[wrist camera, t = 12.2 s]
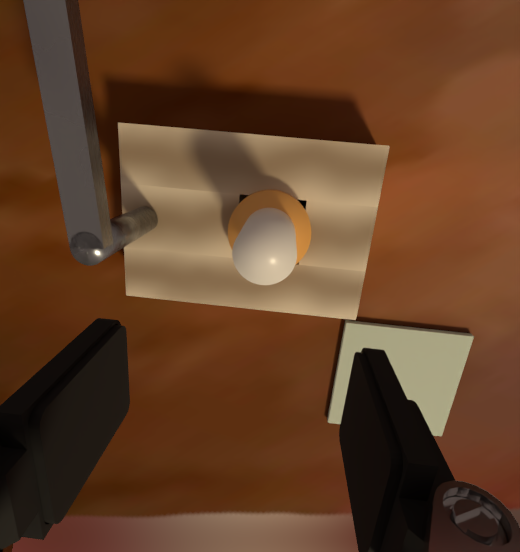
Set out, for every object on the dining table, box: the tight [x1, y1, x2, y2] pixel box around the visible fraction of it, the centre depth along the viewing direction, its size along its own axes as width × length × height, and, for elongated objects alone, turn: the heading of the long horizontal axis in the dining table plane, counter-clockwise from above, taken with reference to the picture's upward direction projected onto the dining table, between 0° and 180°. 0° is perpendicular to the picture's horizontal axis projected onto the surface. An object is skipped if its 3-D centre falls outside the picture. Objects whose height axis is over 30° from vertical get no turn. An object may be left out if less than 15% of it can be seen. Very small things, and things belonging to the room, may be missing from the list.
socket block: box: [118, 122, 390, 320], centre depth 31 cm, size 14×20×4 cm
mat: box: [327, 320, 474, 436], centre depth 37 cm, size 12×12×1 cm
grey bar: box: [23, 0, 158, 265], centre depth 22 cm, size 16×2×9 cm, turn 0°
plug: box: [228, 189, 311, 285], centre depth 27 cm, size 6×6×11 cm
